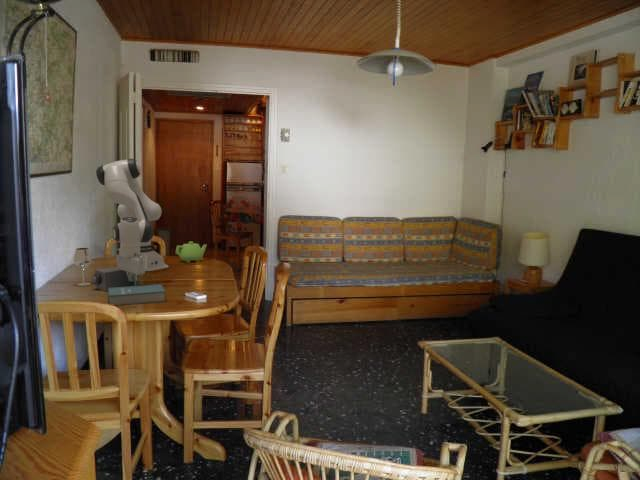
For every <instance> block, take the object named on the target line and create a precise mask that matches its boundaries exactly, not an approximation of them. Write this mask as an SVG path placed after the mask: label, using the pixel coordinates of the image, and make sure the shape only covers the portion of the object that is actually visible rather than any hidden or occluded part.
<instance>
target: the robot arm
mask: <svg viewBox="0 0 640 480" xmlns="http://www.w3.org/2000/svg"><path fill="white" fill-rule="evenodd" d="M141 169H142V168H141V166H140V164H139V162H138V160H137V159H135V158H127V159H120V160H116V161H112V162H110V163H107V164H104V165H102V164H101V165H100V166H98V167H97V169H96V170H95V175H96V179H97V181H98V182H99V184H100V185H103V186H104V189H105V193H106V196H107V198H108V199H109V200H110V201H111V202H113V203H114V204H117V205H118V206H117V215H118V217H119V218H120V220H119V221H120V222H118V223H116V224H115V225H114V226H113V227H112V239H113V240H114V241H115V242H117V243H118V244H120V246H119V248H117V249H115V251H114V252H115V259H116V260H115V261H116V267H117V268H118V269H120V270H124V271H127V276H128V281H131V282H132V281H134V275H135V274H137V276H138V275H139V276H140V275H145V273H146V272H154V271H157V270H163V269H168V268H169V265H168V264H166V263H165V260H164V257H163V256H162V255H161V254H160V253H158V252H156V251H155V250H156V249H157V248H158V246H157V245H155V244H152V243H151V242H152V239H153V237H154V229H153V225H152V223H151V222H154V221H158V220H159V219H160V217H161V216H162V212H163V210H162V207H161V206H160V204H159V203H157V202H156V201H153V200H152V199H150V198H149V197H148V196H147V194H145V192H144V191H143V189H142V187H141V185H140V183H139V181H138V178H140V176H141V173H142V172H141ZM154 249H155V250H154Z"/></svg>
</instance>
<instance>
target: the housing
mask: <svg viewBox="0 0 640 480" xmlns="http://www.w3.org/2000/svg"><path fill="white" fill-rule="evenodd" d="M92 281H93V285H94V286H95V289H96V290H101V291H102V292H103V291H104V292H108V288H115V287H129V286H134V281H132V282H131V281H128V276H127V271H124V270H120V269H118V268H117V266H113V267H106V268H98V269H94V273H93V274H92Z"/></svg>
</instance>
